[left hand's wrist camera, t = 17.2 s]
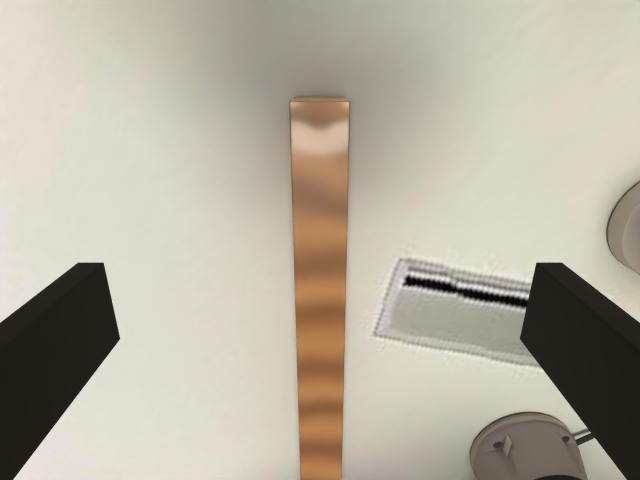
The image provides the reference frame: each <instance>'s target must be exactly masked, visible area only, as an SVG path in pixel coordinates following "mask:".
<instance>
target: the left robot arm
mask: <svg viewBox="0 0 640 480" xmlns="http://www.w3.org/2000/svg"><path fill="white" fill-rule="evenodd" d="M119 340H120V336H119V332H118V327H117V322H116V318H115V313H114V309H113V304H112V299H111V295H110V290H109V286H108V281H107V276H106V272H105V267H104V263H77V264H76V265H75V266H73V267H72V268H71V269H69V270H68V271H67V272H66V273H64V274H63V275H62V276H60V277H59V278H58V279H56V280H55V281H54V282H53V283H51V284H50V285H49V286H47V287H46V288H45V289H44V290H42V291H41V292H40V293H38V294H37V295H36V296H34V297H33V298H32V299H31V300H29V301H28V302H27V303H25V304H24V305H23V306H22V307H20V308H19V309H18V310H16V311H15V312H14V313H12V314H11V315H10V316H9V317H7V318H6V319H5V320H3V321H2V322H1V323H0V480H13V479H14V478H15V476H16V475H17V474H18V472H19V471H20V470H21V469H22V467H23V466H24V465H25V463H26V462H27V461H28V459H29V458H30V457H31V455H32V454H33V453H34V451H35V450H36V449H37V447H38V446H39V445H40V444H41V442H42V441H43V440H44V438H45V437H46V436H47V434H48V433H49V432H50V430H51V429H52V428H53V426H54V425H55V424H56V423H57V421H58V420H59V419H60V417H61V416H62V415H63V413H64V412H65V411H66V409H67V408H68V407H69V405H70V404H71V403H72V401H73V400H74V399H75V398H76V396H77V395H78V394H79V392H80V391H81V390H82V388H83V387H84V386H85V384H86V383H87V382H88V380H89V379H90V378H91V377H92V375H93V374H94V373H95V371H96V370H97V369H98V367H99V366H100V365H101V363H102V362H103V361H104V359H105V358H106V357H107V355H108V354H109V353H110V352H111V350H112V349H113V348H114V346H115V345H116V344H117V342H118V341H119ZM520 340H521V341H522V342H523V344H524V345H525V346H526V348H527V349H528V350H529V352H530V353H531V354H532V355H533V357H534V358H535V359H536V361H537V362H538V363H539V365H540V366H541V367H542V369H543V370H544V371H545V373H546V374H547V375H548V377H549V378H550V379H551V380H552V382H553V383H554V384H555V386H556V387H557V388H558V390H559V391H560V392H561V394H562V395H563V396H564V398H565V399H566V400H567V401H568V403H569V404H570V405H571V407H572V408H573V409H574V411H575V412H576V413H577V415H578V416H579V417H580V419H581V420H582V421H583V423H584V424H585V425H586V426H587V428H588V429H589V430H590V432H591V433H592V434H593V436H594V437H595V438H596V440H597V441H598V442H599V444H600V445H601V446H602V447H603V449H604V450H605V451H606V453H607V454H608V455H609V457H610V458H611V459H612V461H613V462H614V463H615V465H616V466H617V467H618V469H619V470H620V471H621V472H622V474H623V475H624V476H625V478H626V479H627V480H640V323H639V322H638V321H637V320H635V319H634V318H633V317H631V316H630V315H629V314H628V313H626V312H625V311H624V310H622V309H621V308H620V307H618V306H617V305H616V304H615V303H613V302H612V301H611V300H609V299H608V298H607V297H606V296H604V295H603V294H602V293H600V292H599V291H598V290H596V289H595V288H594V287H593V286H591V285H590V284H589V283H587V282H586V281H585V280H584V279H582V278H581V277H580V276H578V275H577V274H576V273H574V272H573V271H572V270H571V269H569V268H568V267H567V266H565V265H564V264H563V263H536V267H535V272H534V276H533V281H532V286H531V290H530V295H529V299H528V304H527V309H526V313H525V318H524V322H523V327H522V332H521V336H520Z"/></svg>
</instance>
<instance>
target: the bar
mask: <svg viewBox="0 0 640 480" xmlns="http://www.w3.org/2000/svg"><path fill="white" fill-rule="evenodd" d="M289 106H290V140H291V173H292V207H293V240H294V273H295V307H296V340H297V374H298V407H299V441H300V474H301V480H341V477H342V433H343V389H344V346H345V302H346V258H347V214H348V171H349V127H350V101H349V100H347V99H346V98H345V97H295V98H293V99H292V100H291V101H290V102H289Z"/></svg>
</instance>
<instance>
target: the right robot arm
mask: <svg viewBox="0 0 640 480" xmlns="http://www.w3.org/2000/svg"><path fill="white" fill-rule="evenodd" d="M593 438H595V437H594V436H593V434H592V433H590V434H588V435H586V436H583V437H581V438H579V439H577V440H575V439H574V437H573V436H572V434H571V433H570V432H569V430H568V429H567V427H566V426H565V425H564V424H563V423H562V422H560V421H559V420H557V419H555V418H553V417H551V416H548V415H544V414H538V413H522V414H516V415H512V416H508V417H505V418H503V419H500V420H498V421H496V422H494V423H493V424H491V425H490V426H488V427H487V428H486V429H485V430H483V431H482V432H481V433H480V434H479V436H478V437H477V438H476V440H475V441H474V443H473V446H472V448H471V453H470V460H471V465H472V467H473V470H474V472H475V475H476V477H477V479H478V480H588V479H587V476H586V472H585V469H584V465H583V462H582V458H581V455H580V451H579V448H578V445H580V444H582V443H584V442H587V441H589V440H591V439H593Z"/></svg>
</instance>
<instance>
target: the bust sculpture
mask: <svg viewBox="0 0 640 480" xmlns="http://www.w3.org/2000/svg"><path fill="white" fill-rule="evenodd" d="M608 242H609V246H610V249H611V251H612V253H613V255H614V256H615V257H616V259H617V260H618V261H620V262H621V263H622V264H624V265H625V266H627V267H629V268H630V269H632V270H633V271H635V272H637V273H638V274H640V183H639V184H637V185H636V186H635V187H633V188H632V189H631V190H630V191H629V192H628V193H627V194H626V195H625V196H624V197H623V198H622V200H621V201H620V202H619V204H618V205H617V207H616V208H615V210H614V212H613V214H612V217H611V219H610V223H609V227H608Z"/></svg>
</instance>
